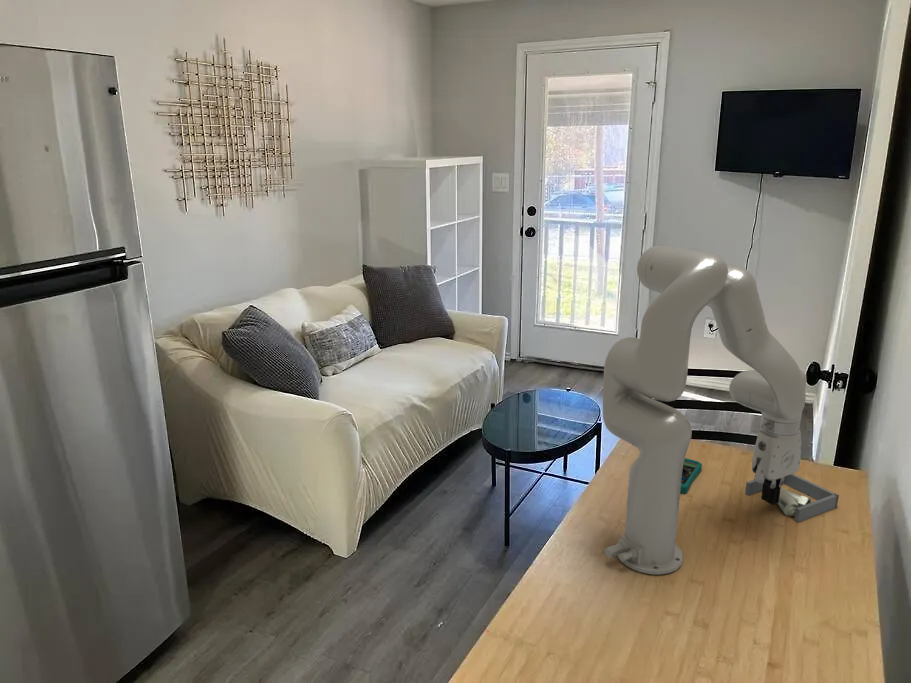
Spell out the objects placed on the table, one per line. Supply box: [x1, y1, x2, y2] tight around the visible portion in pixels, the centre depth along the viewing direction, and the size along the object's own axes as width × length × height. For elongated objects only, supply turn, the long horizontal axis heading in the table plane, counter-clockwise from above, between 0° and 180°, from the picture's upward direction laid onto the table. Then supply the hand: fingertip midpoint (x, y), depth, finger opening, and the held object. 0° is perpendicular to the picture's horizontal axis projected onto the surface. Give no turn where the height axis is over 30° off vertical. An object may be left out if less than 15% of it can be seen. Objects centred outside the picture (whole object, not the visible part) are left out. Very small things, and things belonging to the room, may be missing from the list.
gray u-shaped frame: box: [744, 473, 840, 523], centre depth 148 cm, size 13×14×3 cm
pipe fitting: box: [776, 488, 812, 517], centre depth 145 cm, size 8×4×7 cm
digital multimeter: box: [680, 457, 703, 495], centre depth 159 cm, size 7×15×3 cm, turn 146°
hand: (769, 501), depth 145 cm, fingers closed
